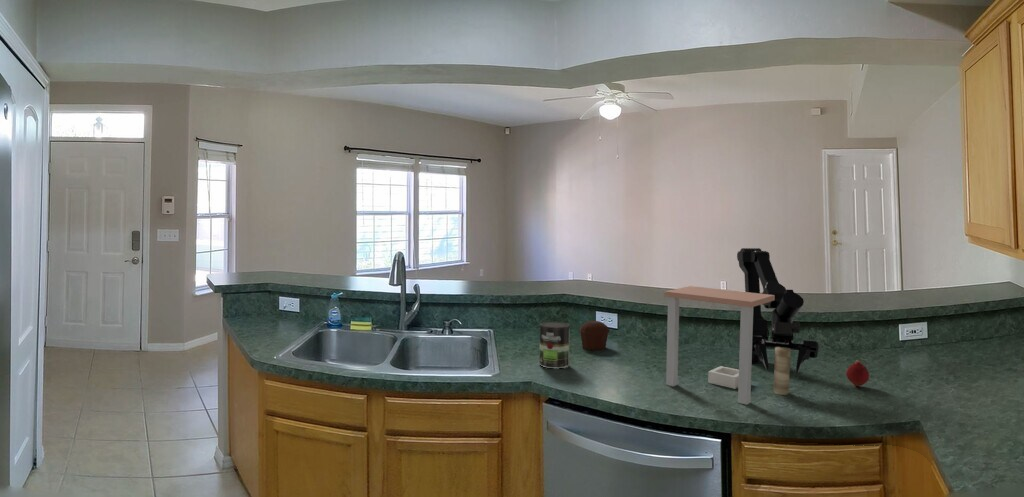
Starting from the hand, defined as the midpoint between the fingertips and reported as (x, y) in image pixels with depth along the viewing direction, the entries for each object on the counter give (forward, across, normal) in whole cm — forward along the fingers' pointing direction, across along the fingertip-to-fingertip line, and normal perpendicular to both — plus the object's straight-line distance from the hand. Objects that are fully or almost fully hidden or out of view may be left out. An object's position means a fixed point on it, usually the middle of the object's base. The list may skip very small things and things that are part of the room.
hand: (782, 371), depth 163 cm
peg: (+4, 0, +6) cm, 7 cm away
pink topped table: (+6, -18, +3) cm, 19 cm away
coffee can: (+3, -70, +7) cm, 70 cm away
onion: (-7, +21, +16) cm, 28 cm away
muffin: (-17, -63, +27) cm, 71 cm away
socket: (+1, -15, +8) cm, 17 cm away
